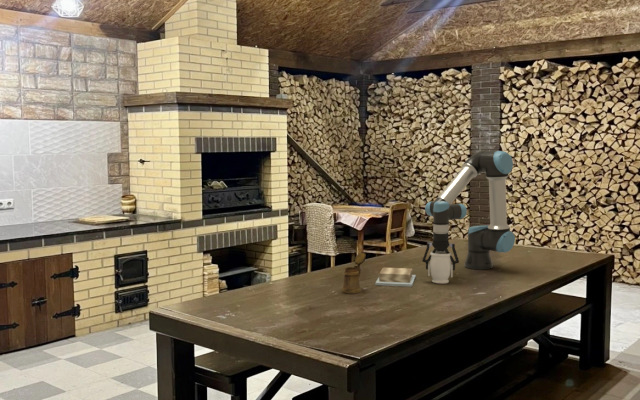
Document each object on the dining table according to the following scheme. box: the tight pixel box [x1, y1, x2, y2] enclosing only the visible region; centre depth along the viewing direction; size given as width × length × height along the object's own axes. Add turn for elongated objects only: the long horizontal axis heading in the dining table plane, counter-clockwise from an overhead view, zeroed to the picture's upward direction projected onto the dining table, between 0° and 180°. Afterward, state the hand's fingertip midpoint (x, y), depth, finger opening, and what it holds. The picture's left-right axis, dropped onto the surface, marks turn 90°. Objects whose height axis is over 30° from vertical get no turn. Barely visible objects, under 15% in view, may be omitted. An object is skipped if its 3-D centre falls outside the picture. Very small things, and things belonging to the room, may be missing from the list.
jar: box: [429, 251, 452, 285], centre depth 334 cm, size 11×10×15 cm
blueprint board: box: [374, 274, 417, 288], centre depth 338 cm, size 18×22×1 cm
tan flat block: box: [378, 267, 413, 283], centre depth 337 cm, size 15×15×4 cm
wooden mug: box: [341, 251, 367, 294], centre depth 317 cm, size 9×14×18 cm, turn 135°
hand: (440, 276), depth 334 cm, fingers closed on jar, 10 cm apart
